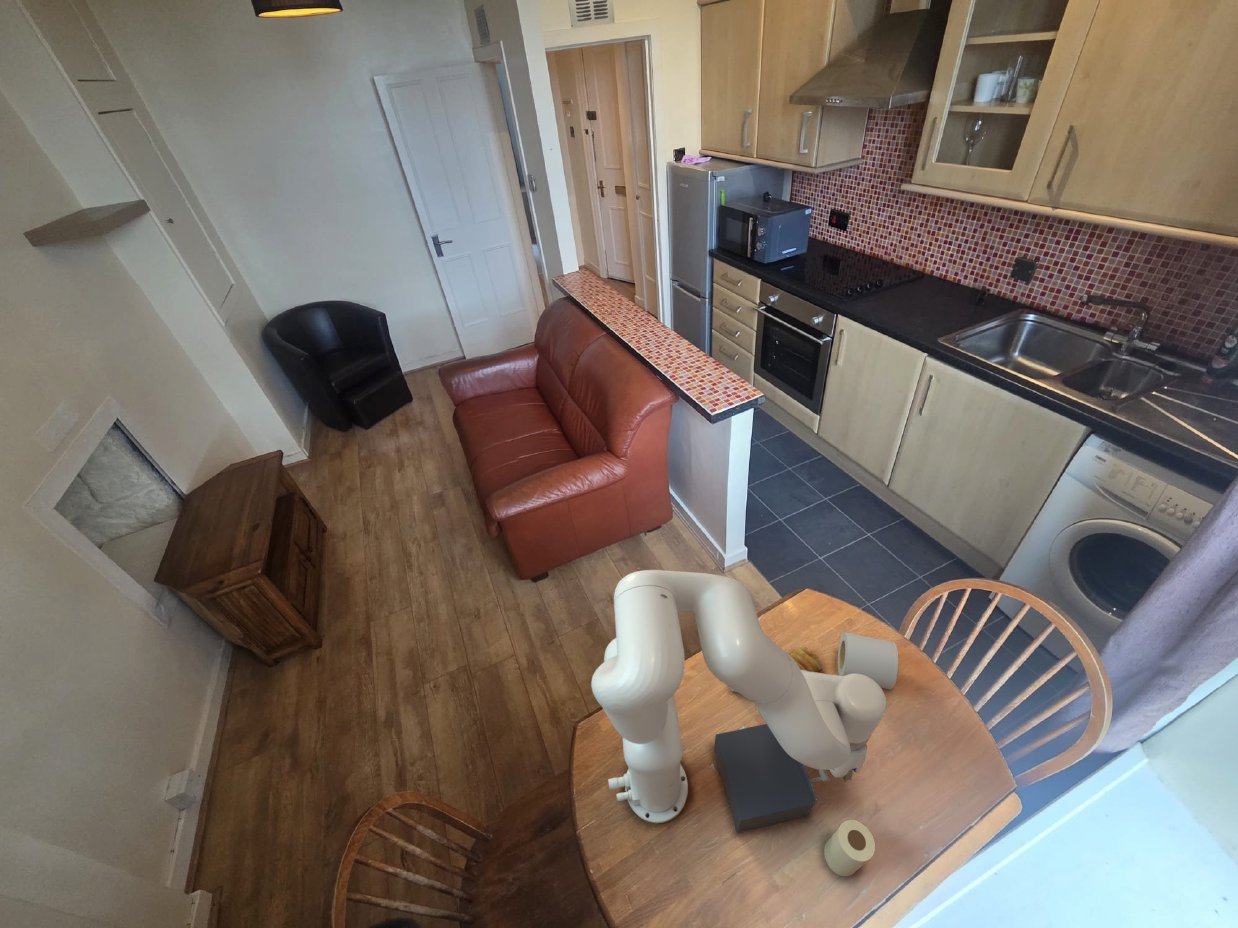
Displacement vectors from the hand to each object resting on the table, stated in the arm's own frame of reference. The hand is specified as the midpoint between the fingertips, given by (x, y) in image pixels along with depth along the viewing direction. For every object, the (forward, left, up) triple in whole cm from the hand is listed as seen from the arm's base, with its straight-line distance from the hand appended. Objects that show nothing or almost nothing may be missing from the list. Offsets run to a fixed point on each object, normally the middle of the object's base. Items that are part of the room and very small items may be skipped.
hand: (828, 760), depth 100 cm
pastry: (+4, +20, -4) cm, 21 cm away
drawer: (-10, 0, -3) cm, 11 cm away
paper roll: (-4, -14, -4) cm, 15 cm away
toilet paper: (+17, +17, -4) cm, 24 cm away
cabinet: (-14, 0, -4) cm, 15 cm away
